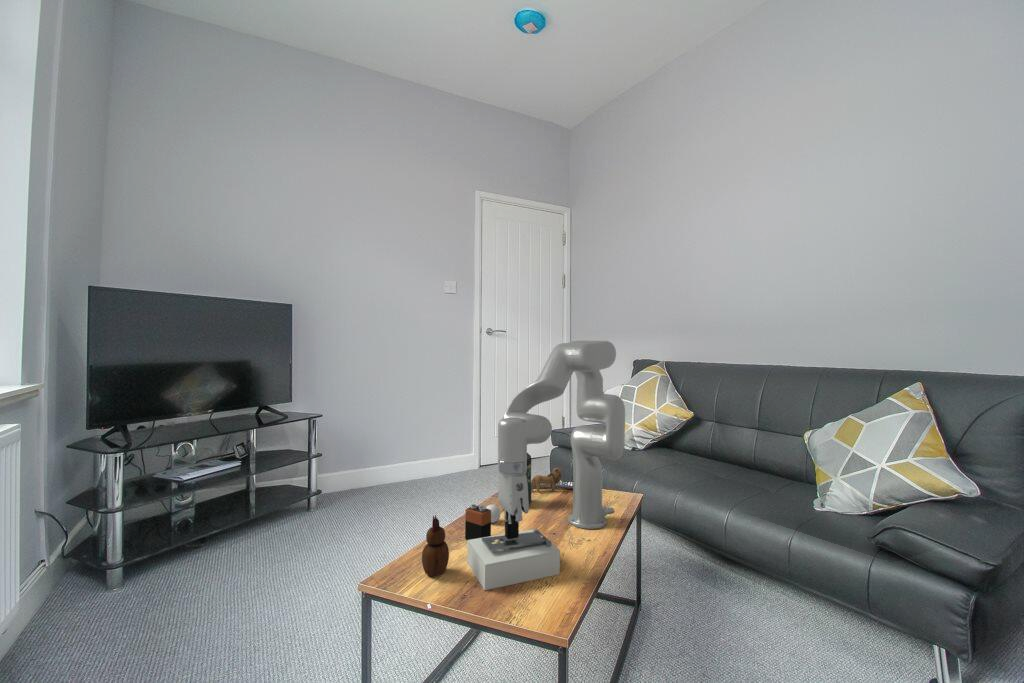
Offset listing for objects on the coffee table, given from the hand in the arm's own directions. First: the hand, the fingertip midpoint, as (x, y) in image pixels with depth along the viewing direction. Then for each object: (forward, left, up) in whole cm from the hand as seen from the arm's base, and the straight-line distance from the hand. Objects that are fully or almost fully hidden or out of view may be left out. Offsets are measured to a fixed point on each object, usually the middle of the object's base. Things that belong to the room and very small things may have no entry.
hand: (511, 537), depth 112 cm
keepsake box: (0, 0, -8) cm, 8 cm away
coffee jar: (-21, -41, -8) cm, 47 cm away
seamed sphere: (-5, -29, -8) cm, 30 cm away
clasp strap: (-1, 0, -2) cm, 2 cm away
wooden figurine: (+19, -5, -8) cm, 21 cm away
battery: (+3, -19, -8) cm, 21 cm away
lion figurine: (-37, -51, -8) cm, 63 cm away
